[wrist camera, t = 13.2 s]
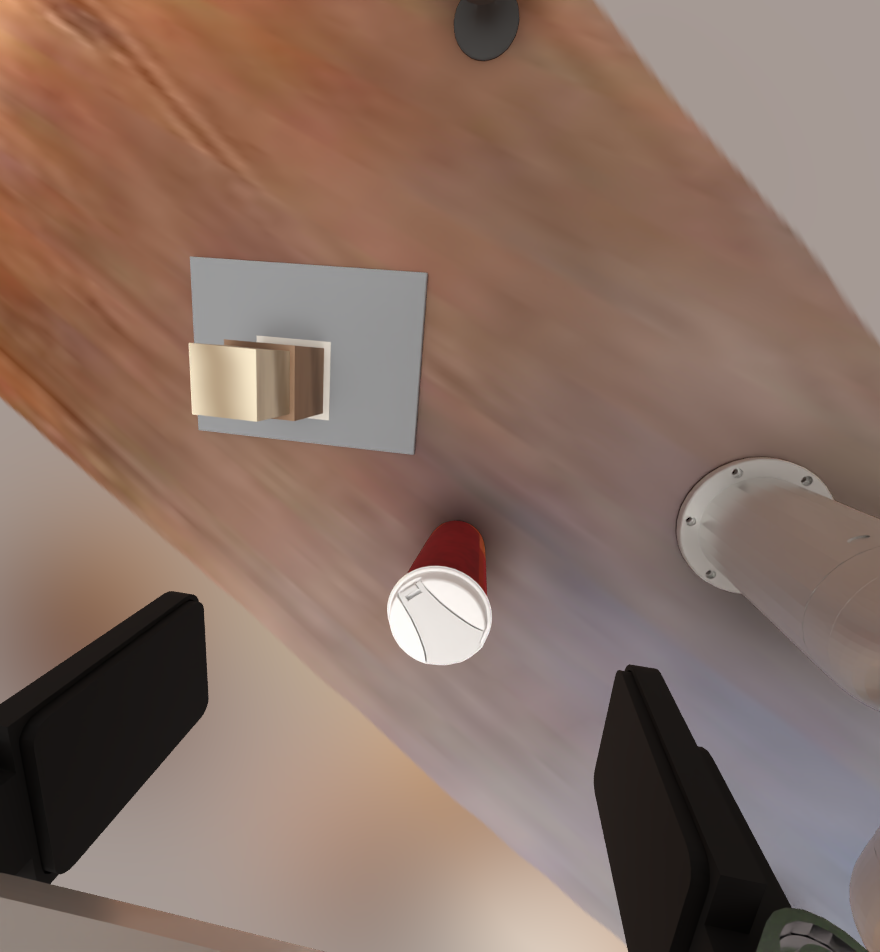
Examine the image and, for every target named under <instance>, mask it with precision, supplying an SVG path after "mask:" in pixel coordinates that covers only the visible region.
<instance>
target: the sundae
mask: <svg viewBox="0 0 880 952" xmlns="http://www.w3.org/2000/svg"><path fill="white" fill-rule="evenodd" d="M518 24H519V9H518V4H517V2H516V0H461V1H460V3H459V5H458V7H457V9H456V13H455V18H454V32H455V38H456V40H457V42H458V45H459V46H460V48H461V50H462V51H463V52H464V53H465V54H466V55H468V56H469V57H471V58H473V59H476V60H482V61H485V60H490V59H493V58H496V57H498V56H499V55H501V54H502V53H503V52H504V51H505V50H507V49H508V47H509V46H510V44H511V43H512V41H513V39H514V37H515V36H516V32H517V29H518Z"/></svg>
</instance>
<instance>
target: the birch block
mask: <svg viewBox="0 0 880 952" xmlns="http://www.w3.org/2000/svg"><path fill="white" fill-rule="evenodd" d="M189 359H190V379H191V400H192V414H195V415H203V416H212V417H221V418H229V419H238V420H247V421H255V422H258V421H262V420H266V419H271V418H275V417H279V416H284V415H288V414H289V374H290V351H282V350H271V349H261V348H250V347H240V346H229V345H214V344H200V343H189Z"/></svg>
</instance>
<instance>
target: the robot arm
mask: <svg viewBox="0 0 880 952" xmlns="http://www.w3.org/2000/svg"><path fill="white" fill-rule="evenodd" d="M734 469H735V472H734V473H732V472H733V470H734ZM802 478H803V479H802ZM689 517H690V519H689V520H687V521H686V519H687V518H689ZM676 534H677V541H678V546H679V548H680V551H681V554H682V556H683V558H684V559H685V561H686V562H687V564H688V565H689V566H690V567H691V568H692V570H693V571H694V572H695V573H696V574H697V575H698V576H699V577H701V578H702V579H703V580H704V581H706V582H707V583H709V584H711V585H713V586H715V587H717V588H719V589H722V590H725V591H728V592H732V593H739V594H743V595H744V596H745V597H746V598H747V599H748V600H749V601H750V602H751V603H752V604H753V605H754V606H755V607H757V608H758V609H759V610H760V611H761V612H762V613H763V614H764V615H765V616H766V617H767V618H768V619H769V620H770V621H771V622H772V623H773V624H774V625H775V626H776V627H777V628H778V629H779V630H780V631H781V632H782V633H783V634H784V635H786V636H787V637H788V638H789V639H790V640H791V641H792V642H793V643H794V644H795V645H796V646H797V647H798V648H799V649H800V650H801V651H802V652H803V653H804V654H805V655H806V656H807V657H808V658H809V659H810V660H811V661H812V662H813V663H815V664H816V665H817V666H818V667H819V668H820V669H821V670H822V671H823V672H824V673H825V674H826V675H827V676H829V677H830V678H831V679H832V680H833V681H834V682H835V683H836V684H837V685H838V686H839V687H841V688H842V689H843V690H844V691H845V692H847V693H848V694H849V695H851V696H852V697H854V698H855V699H857V700H858V701H860V702H862V703H863V704H865V705H867V706H869V707H871V708H873V709H875V710H877V711H880V519H878V518H875V517H873V516H870V515H868V514H866V513H863V512H861V511H858V510H856V509H854V508H851V507H849V506H846V505H844V504H841V503H839V502H837V501H834V499H833V496H832V495H831V493H830V491H829V490H828V488H827V486H826V485H825V484H824V483H823V482H822V481H821V480H820V479H819V478H818V477H817V476H816V475H815V474H813V473H812V472H810V471H809V470H807V469H806V468H804V467H802V466H799V465H797V464H794V463H792V462H789V461H785V460H782V459H778V458H769V457H754V458H745V459H741V460H737V461H733V462H731V463H728V464H726V465H723V466H721V467H719V468H717V469H716V470H714V471H712V472H711V473H709V474H708V475H706V476H705V477H704V478H703V479H702V480H700V481H699V482H698V483H697V484H696V485H695V486H694V487H693V489H692V490H691V491H690V493H689V494H688V495H687V497H686V499H685V500H684V502H683V504H682V506H681V508H680V512H679V515H678V519H677V529H676ZM707 571H708V572H707ZM207 704H208V681H207V663H206V642H205V625H204V608H203V605H202V604H201V603H200V602H199V601H198V598H197V597H196V596H195V595H192V594H186V593H180V592H174V591H171V592H170V591H169V592H167V593H165V594H163V595H162V596H160V597H159V598H157V599H156V600H154V601H153V602H151V603H150V604H148V605H147V606H145V607H144V608H142V609H141V610H139V611H138V612H136V613H135V614H133V615H132V616H131V617H129V618H128V619H126V620H124V621H123V622H122V623H120V624H118V625H117V626H116V627H114V628H113V629H111V630H110V631H108V632H107V633H106V634H104V635H102V636H101V637H99V638H98V639H96V640H95V641H93V642H92V643H90V644H89V645H87V646H86V647H84V648H83V649H81V650H80V651H78V652H77V653H75V654H74V655H72V656H71V657H70V658H68V659H67V660H65V661H64V662H62V663H61V664H59V665H58V666H56V667H55V668H53V669H52V670H50V671H49V672H47V673H46V674H44V675H43V676H41V677H40V678H38V679H37V680H36V681H34V682H33V683H31V684H30V685H28V686H26V687H25V688H24V689H22V690H21V691H19V692H18V693H16V694H15V695H13V696H12V697H10V698H9V699H7V700H6V701H4V702H3V703H1V704H0V952H324V951H320V950H316V949H312V948H307V947H304V946H300V945H296V944H291V943H288V942H284V941H279V940H275V939H272V938H267V937H264V936H260V935H256V934H252V933H248V932H244V931H240V930H235V929H232V928H228V927H224V926H219V925H215V924H211V923H207V922H203V921H199V920H195V919H191V918H187V917H183V916H179V915H175V914H171V913H167V912H163V911H159V910H155V909H151V908H147V907H142V906H138V905H134V904H130V903H126V902H122V901H118V900H113V899H109V898H105V897H101V896H97V895H93V894H88V893H84V892H80V891H76V890H72V889H68V888H64V887H59V886H55V885H51V882H52V881H53V880H54V879H55V878H56V877H57V876H58V874H63V873H65V872H66V871H68V870H69V869H70V868H71V867H72V866H73V865H74V864H75V863H76V862H77V861H78V860H79V859H80V858H81V856H82V855H83V854H84V853H85V852H86V851H87V849H88V848H89V847H90V846H91V845H92V844H93V842H94V841H95V840H96V839H97V838H98V836H99V835H100V834H101V833H102V832H103V831H104V830H105V828H106V827H107V826H108V825H109V824H110V823H111V821H112V820H113V819H114V818H115V817H116V816H117V814H118V813H119V812H120V811H121V810H122V809H123V808H124V806H125V805H126V804H127V803H128V802H129V801H130V799H131V798H132V797H133V796H134V794H136V792H137V791H138V790H139V789H140V788H141V787H142V785H143V784H144V783H145V782H146V781H147V780H148V778H149V777H150V776H151V775H152V774H153V773H154V772H155V770H156V769H157V768H158V767H159V766H160V764H161V763H162V762H163V761H164V760H165V759H166V758H167V756H168V755H169V754H170V753H171V751H173V749H174V748H175V747H176V746H177V745H178V744H179V742H180V741H181V740H182V739H183V738H184V737H185V735H186V734H187V733H188V732H189V731H190V729H191V728H192V727H193V726H194V725H195V724H196V723H197V722H198V720H199V719H200V718H201V717H202V715H203V714H204V712H205V710H206V707H207ZM594 790H595V796H596V801H597V805H598V810H599V815H600V820H601V824H602V829H603V834H604V839H605V843H606V848H607V853H608V858H609V862H610V867H611V872H612V877H613V881H614V886H615V891H616V896H617V900H618V905H619V910H620V915H621V919H622V924H623V929H624V934H625V938H626V943H627V948H628V952H880V827H879V828H878V829H877V830H876V832H875V834H874V836H873V837H872V838H871V840H870V841H869V842H868V844H867V845H866V847H865V848H864V850H863V852H862V853H861V855H860V856H859V858H858V860H857V861H856V864H855V866H854V869H853V872H852V875H851V880H850V905H851V910H852V914H853V918H854V921H855V924H856V927H857V930H858V932H859V934H860V936H861V938H862V941H863V943H864V945H865V947H866V949H867V950H866V949H865V948H864V947H863V946H862V945H860V944H859V943H858V942H857V941H856V940H855V939H853V938H852V937H851V936H850V935H849V934H848V933H846V932H845V931H844V930H842V929H840V928H839V927H837V926H836V925H834V924H832V923H831V922H829V921H828V920H826V919H825V918H823V917H820V916H818V915H815V914H813V913H811V912H808V911H806V910H803V909H795V908H792V907H791V906H790V904H789V902H788V900H787V898H786V896H785V894H784V892H783V890H782V889H781V887H780V885H779V883H778V881H777V879H776V877H775V875H774V873H773V871H772V870H771V868H770V866H769V864H768V862H767V860H766V858H765V856H764V854H763V853H762V851H761V849H760V847H759V845H758V843H757V841H756V839H755V837H754V836H753V834H752V832H751V830H750V828H749V826H748V824H747V822H746V820H745V818H744V817H743V815H742V813H741V811H740V809H739V807H738V805H737V803H736V801H735V800H734V798H733V796H732V794H731V792H730V790H729V788H728V786H727V784H726V783H725V781H724V779H723V777H722V775H721V773H720V771H719V769H718V767H717V765H716V764H715V762H714V760H713V758H712V757H711V755H710V754H709V752H708V751H707V750H706V749H704V748H703V747H699V746H697V744H696V742H695V740H694V738H693V736H692V734H691V732H690V730H689V728H688V726H687V724H686V722H685V721H684V719H683V717H682V715H681V713H680V711H679V709H678V707H677V705H676V703H675V701H674V699H673V697H672V695H671V693H670V691H669V689H668V687H667V685H666V683H665V681H664V679H663V677H662V675H661V673H660V672H659V670H657V669H654V668H648V667H642V666H635V665H627V667H626V669H625V671H621V670H618V671H617V673H616V676H615V680H614V684H613V689H612V694H611V698H610V703H609V707H608V712H607V717H606V721H605V726H604V730H603V735H602V739H601V744H600V749H599V753H598V758H597V762H596V767H595V772H594Z"/></svg>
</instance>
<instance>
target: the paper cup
mask: <svg viewBox="0 0 880 952" xmlns="http://www.w3.org/2000/svg"><path fill="white" fill-rule="evenodd" d="M387 613H388V620H389V623H390V628H391V631H392V634H393V636H394V638H395V640H396V642H397V643H398V645H399V646H400V647H401V648H402V649H403V650H404V651H405V652H406V653H407V654H408V655H409V656H411V657H413V658H414V659H416V660H418V661H420V662H422V663H427V664H434V665H450V664H454V663H459V662H462V661H464V660H466V659H468V658H470V657H471V656H472V655H474V654H475V653H476V652H477V651H479V650H480V649H481V648H482V647H483V644H484V642H485V640H486V638H487V636H488V634H489V631H490V628H491V623H492V611H491V606H490V603H489V600H488V598H487V583H486V558H485V546H484V541H483V538H482V536H481V534H480V533H479V532H478V530H477V529H476V528H475V527H473V526H472V525H470V524H468V523H466V522H463V521H449V522H445V523H443V524H441V525H440V526H439V527H437V528H436V529H435V530H434V532H433V533H432V534H431V536H430V537H429V539H428V540H427V542H426V543H425V545H424V547H423V548H422V550H421V551H420V553H419V555H418V556H417V558H416V560H415V561H414V563H413V564H412V566H411V568H410V569H409V571H408V573H407V574H406V575H405V576H403V577H402V578H401V579H400V580H399V581H398V582H397V583H396V585H395V586H394V588H393V589H392V591H391V594H390V596H389V600H388V606H387Z"/></svg>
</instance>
